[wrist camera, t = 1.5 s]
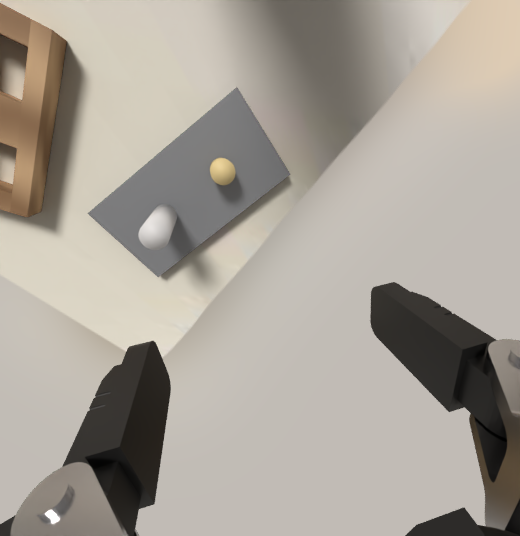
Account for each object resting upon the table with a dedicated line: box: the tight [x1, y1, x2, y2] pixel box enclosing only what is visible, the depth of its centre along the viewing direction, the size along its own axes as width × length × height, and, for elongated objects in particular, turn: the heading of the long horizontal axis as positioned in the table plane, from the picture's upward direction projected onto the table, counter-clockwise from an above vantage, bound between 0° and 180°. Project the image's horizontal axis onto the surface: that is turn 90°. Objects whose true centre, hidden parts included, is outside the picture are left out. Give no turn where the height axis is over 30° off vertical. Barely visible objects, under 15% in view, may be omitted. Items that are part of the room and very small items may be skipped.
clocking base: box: [88, 88, 290, 277], centre depth 21 cm, size 8×16×7 cm, turn 126°
